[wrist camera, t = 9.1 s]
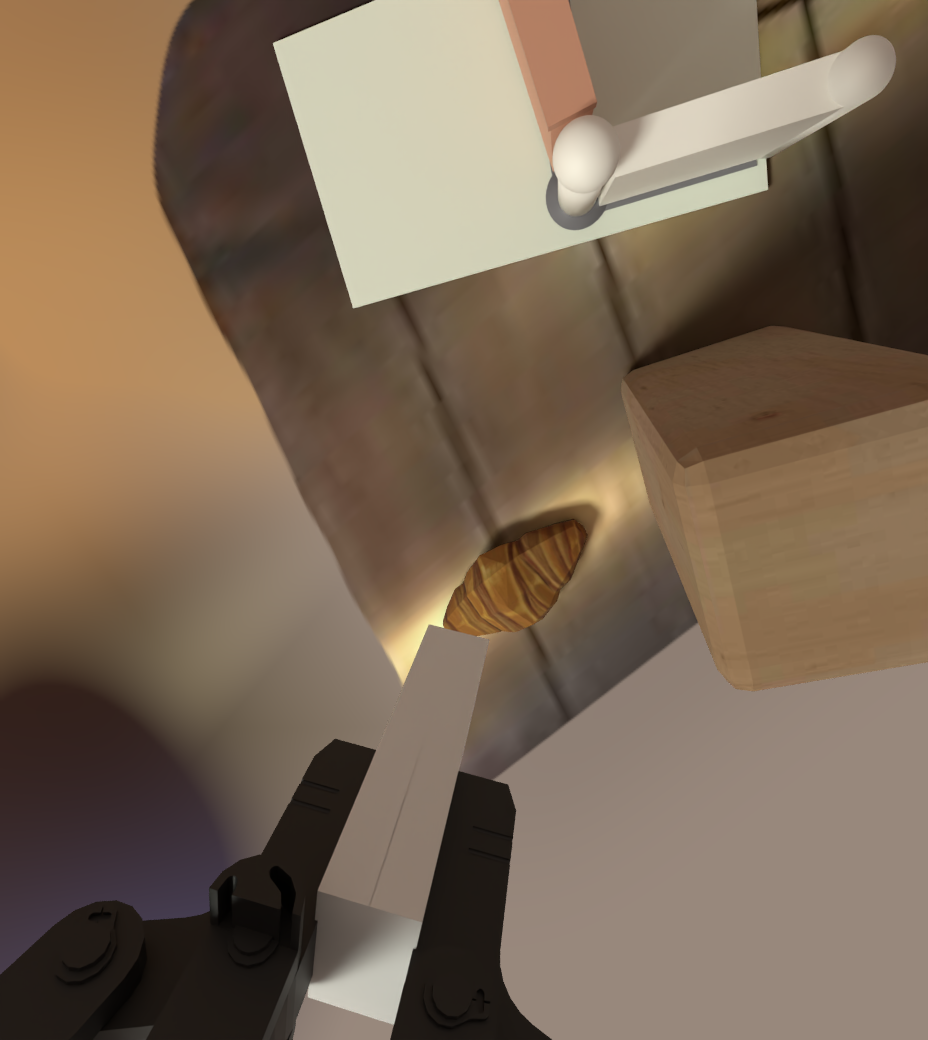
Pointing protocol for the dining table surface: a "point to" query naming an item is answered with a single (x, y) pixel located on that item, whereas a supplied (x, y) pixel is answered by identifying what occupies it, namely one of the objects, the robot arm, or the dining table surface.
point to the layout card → (490, 129)
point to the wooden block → (792, 500)
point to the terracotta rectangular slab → (550, 63)
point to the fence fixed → (715, 128)
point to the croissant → (516, 581)
